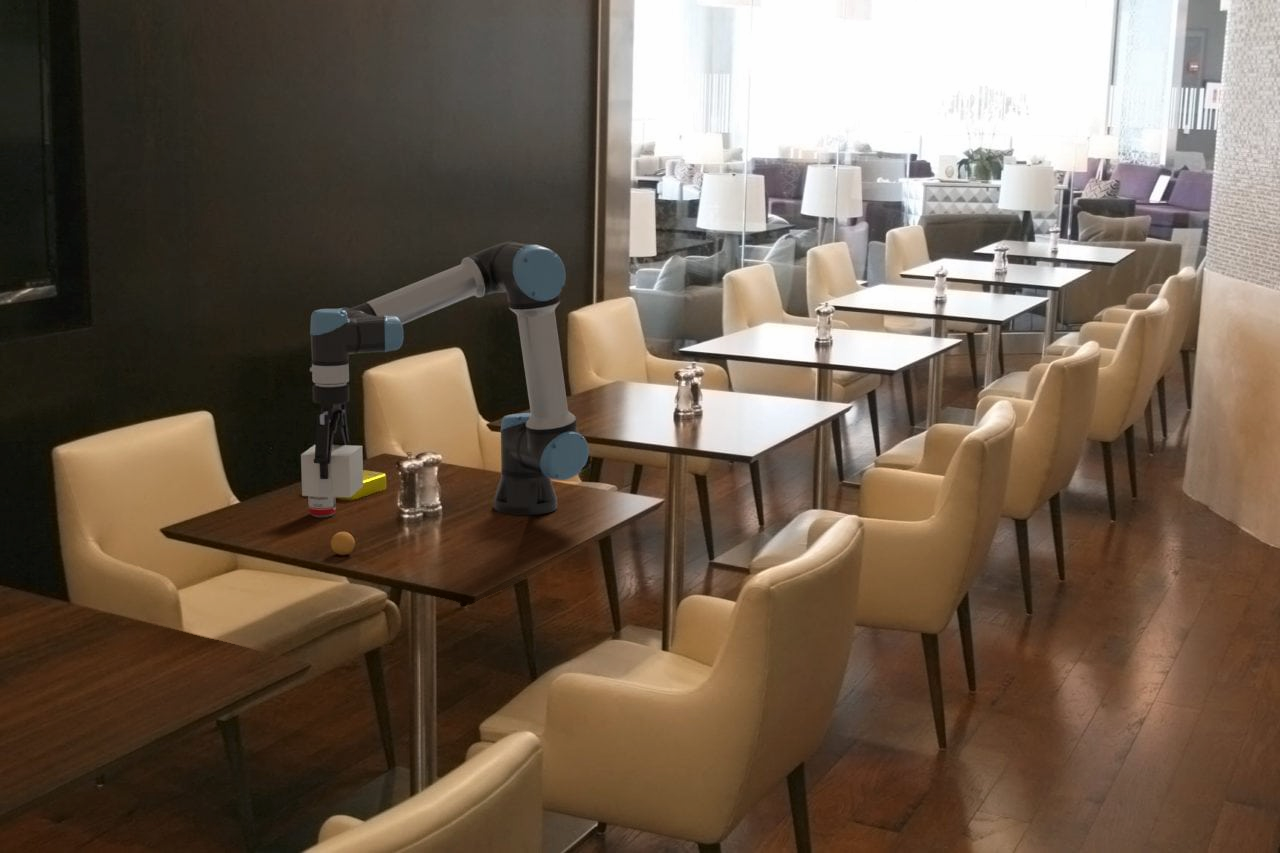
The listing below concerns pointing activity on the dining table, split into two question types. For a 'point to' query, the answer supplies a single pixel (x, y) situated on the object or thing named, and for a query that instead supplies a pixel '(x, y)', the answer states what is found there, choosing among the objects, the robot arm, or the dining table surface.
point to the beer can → (321, 505)
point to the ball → (342, 543)
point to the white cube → (334, 471)
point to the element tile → (369, 485)
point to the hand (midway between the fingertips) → (333, 487)
